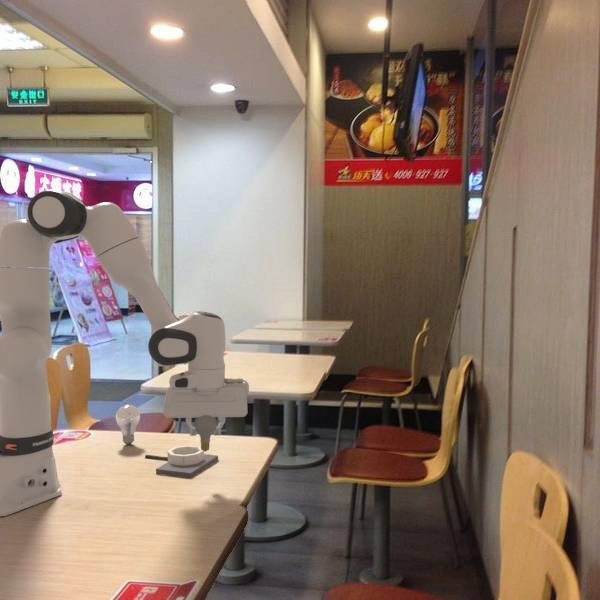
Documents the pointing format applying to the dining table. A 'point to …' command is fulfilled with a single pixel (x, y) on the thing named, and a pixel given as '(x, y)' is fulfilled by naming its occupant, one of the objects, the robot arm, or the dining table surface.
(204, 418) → the light bulb
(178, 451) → the lamp base
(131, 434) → the light bulb
